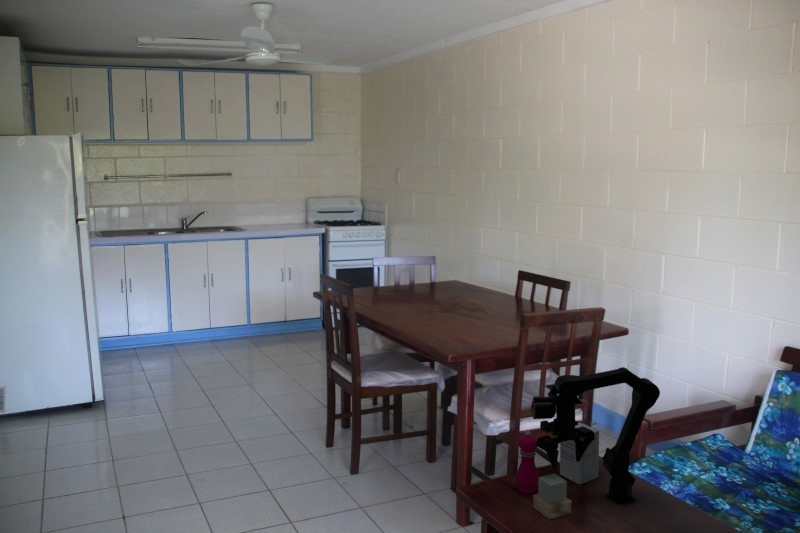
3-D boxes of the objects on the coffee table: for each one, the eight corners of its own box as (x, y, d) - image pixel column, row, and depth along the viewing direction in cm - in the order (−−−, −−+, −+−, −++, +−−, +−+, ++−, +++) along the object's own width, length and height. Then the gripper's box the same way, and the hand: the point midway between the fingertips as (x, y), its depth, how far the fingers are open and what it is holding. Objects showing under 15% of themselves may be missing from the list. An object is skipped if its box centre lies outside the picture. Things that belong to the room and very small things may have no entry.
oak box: (555, 501, 210) (555, 489, 210) (571, 513, 203) (572, 501, 202) (532, 507, 207) (532, 494, 206) (548, 519, 199) (549, 507, 199)
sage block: (554, 491, 208) (554, 473, 207) (566, 500, 203) (566, 481, 202) (538, 495, 206) (538, 477, 205) (550, 504, 200) (550, 485, 200)
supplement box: (578, 467, 233) (579, 421, 231) (599, 477, 226) (600, 430, 223) (558, 474, 228) (559, 427, 226) (579, 485, 221) (580, 436, 218)
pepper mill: (543, 490, 217) (544, 431, 215) (527, 497, 213) (528, 437, 211) (527, 482, 223) (528, 425, 220) (511, 488, 219) (512, 430, 216)
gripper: (572, 403, 218) (572, 449, 221) (525, 414, 210) (526, 461, 213) (596, 414, 208) (596, 462, 211) (547, 426, 200) (548, 475, 203)
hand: (566, 464), depth 209 cm, fingers open, 9 cm apart
